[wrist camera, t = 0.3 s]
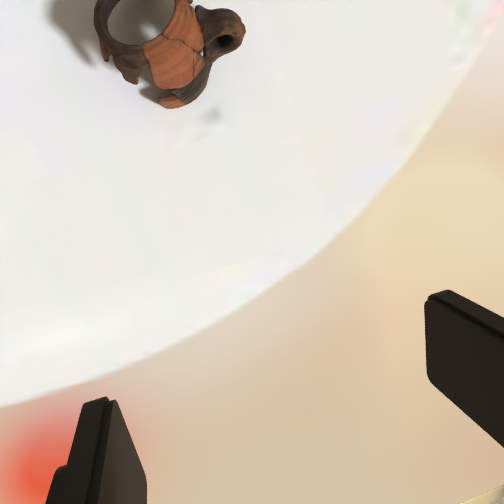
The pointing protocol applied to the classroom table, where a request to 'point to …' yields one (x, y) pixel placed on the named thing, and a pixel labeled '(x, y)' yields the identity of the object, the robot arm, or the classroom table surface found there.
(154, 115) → the classroom table surface
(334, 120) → the classroom table surface
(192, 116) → the classroom table surface
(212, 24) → the pottery mug
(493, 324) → the robot arm
